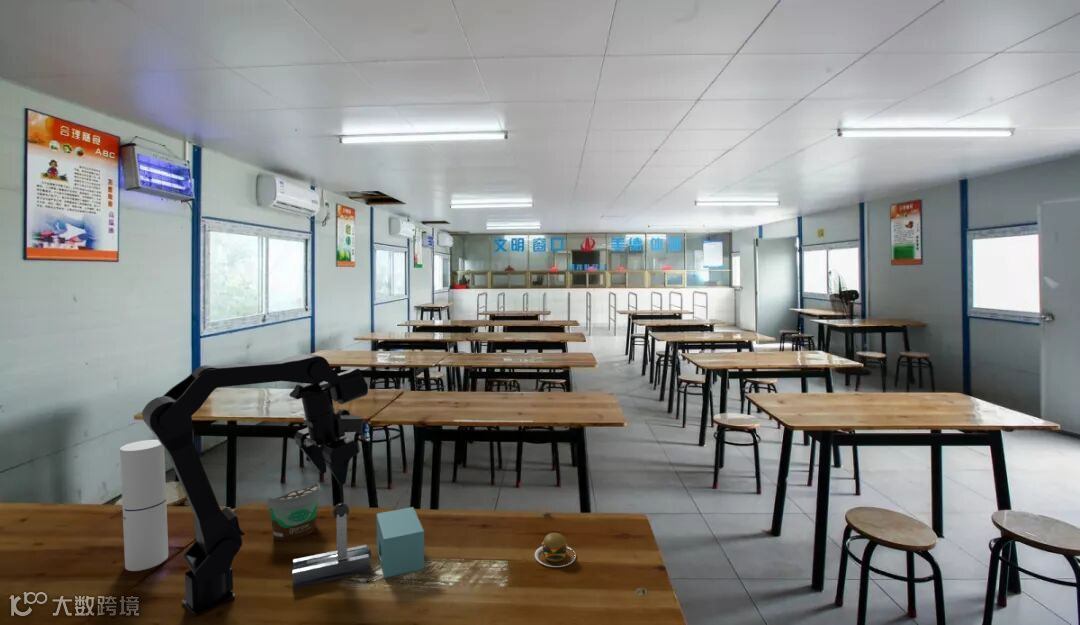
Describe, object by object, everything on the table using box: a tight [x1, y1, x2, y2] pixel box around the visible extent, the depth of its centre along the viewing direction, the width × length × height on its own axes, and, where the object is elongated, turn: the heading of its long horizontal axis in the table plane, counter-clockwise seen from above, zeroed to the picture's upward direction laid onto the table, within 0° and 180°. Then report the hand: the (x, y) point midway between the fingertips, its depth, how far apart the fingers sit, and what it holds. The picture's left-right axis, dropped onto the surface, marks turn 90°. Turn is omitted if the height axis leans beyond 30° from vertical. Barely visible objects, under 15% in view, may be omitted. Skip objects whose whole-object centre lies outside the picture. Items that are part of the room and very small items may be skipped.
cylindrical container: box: [119, 439, 169, 572], centre depth 103 cm, size 7×7×25 cm
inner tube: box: [307, 502, 372, 567], centre depth 100 cm, size 12×3×13 cm, turn 115°
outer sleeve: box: [292, 544, 370, 590], centre depth 100 cm, size 14×5×3 cm, turn 115°
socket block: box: [376, 506, 425, 579], centre depth 105 cm, size 8×12×8 cm, turn 25°
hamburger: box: [534, 532, 577, 568], centre depth 107 cm, size 12×12×6 cm
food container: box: [265, 481, 322, 541], centre depth 115 cm, size 12×6×10 cm, turn 143°
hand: (333, 478), depth 108 cm, fingers open, 9 cm apart
